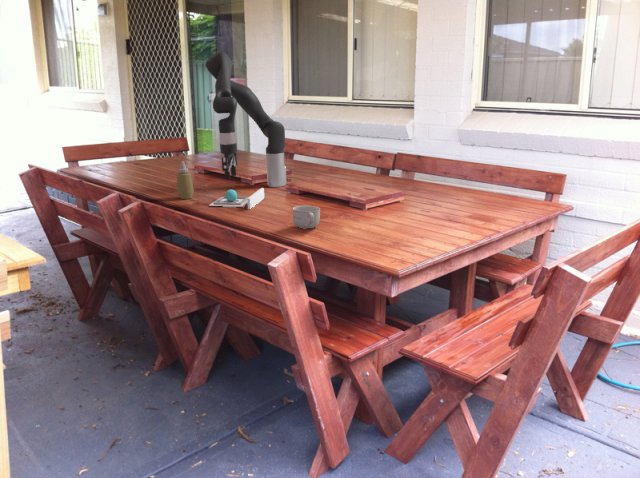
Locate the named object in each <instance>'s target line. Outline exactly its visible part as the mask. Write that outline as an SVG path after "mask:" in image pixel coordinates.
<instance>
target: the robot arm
mask: <svg viewBox="0 0 640 478" xmlns="http://www.w3.org/2000/svg"><path fill="white" fill-rule="evenodd" d="M205 67H206V70H207V71H208V72H209V73H210V75H212V77H214V79H215V80H216V81H215V84H214V89H215V91H214V92H215V96H214V97H213V102H212V108H213V111H214V112H215V113H216V114H228V116H227V117H224V118H221V119H218V132H219V135H218V136H219V137H218V139H219V151H220V153H221V154H222V155H223V156H224V157H221V168H222V169H221V170H222V172H224V176H225V177H224V178H225V180H226V181H230V180H231V177H236V176H237V167H238V157H237V153H238V146H237V145H238V144H237V135H236V126H235V124H236V121H235V117H236V112H237V109H238V108H237V107H238V105H239V107H241V109H242V110H243V111H244V112H245V113H246V114H247V116H249V117H250V118H251V119H252V121H254V122H255V124H256V125H257V127H258V129H260V131H261V132H262V134H263V135H264V136H265V138H267V146H266V147H265V157H266V158H265V160H266V161H265V162H266V175H267V176H266V178H267V179H266V180H267V181H266V182H267V183H266V184H267V186H268V187H271V188H280V187H284V186H286V185H287V183H288V182H287V167H286V166H285V147H286V132H285V126H284V125H283V123H282V122H280V121H277V120H274V119H272V117H270V115H269V114H267V112H266V111H265V110H264V108H263V105H262V103H261V101H260V99H259V98H258V96H257V95H256V94H255V93H254V92H253V91H252V89H251V88H250V87H248V86H247V85H244V84H241V83H239V82H235V81H233V80H231V77H232V68H233V62H232V59H231V58H230V56H229V55H228V54H227V53H226V52H224V51H219V52H217V53H216V54H214V55H213V56H212V57H210V58H209V59H207V61H206V62H205Z"/></svg>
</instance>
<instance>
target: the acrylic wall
mask: <svg viewBox="0 0 640 478" xmlns="http://www.w3.org/2000/svg"><path fill="white" fill-rule="evenodd" d="M248 197H249V198H247V201H248V204H247V210H249V209H251V208H252V207H253V208H255V205H256V204H257V205H259V203H260V202H262V201H263V200H264V199H265V188H264V187H261V188H259V189H258V190H257V191H255V192H254V193H253V194H251V195H250V196H248ZM257 205H256V206H257ZM253 208H252V209H253ZM252 209H251V210H252Z"/></svg>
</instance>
